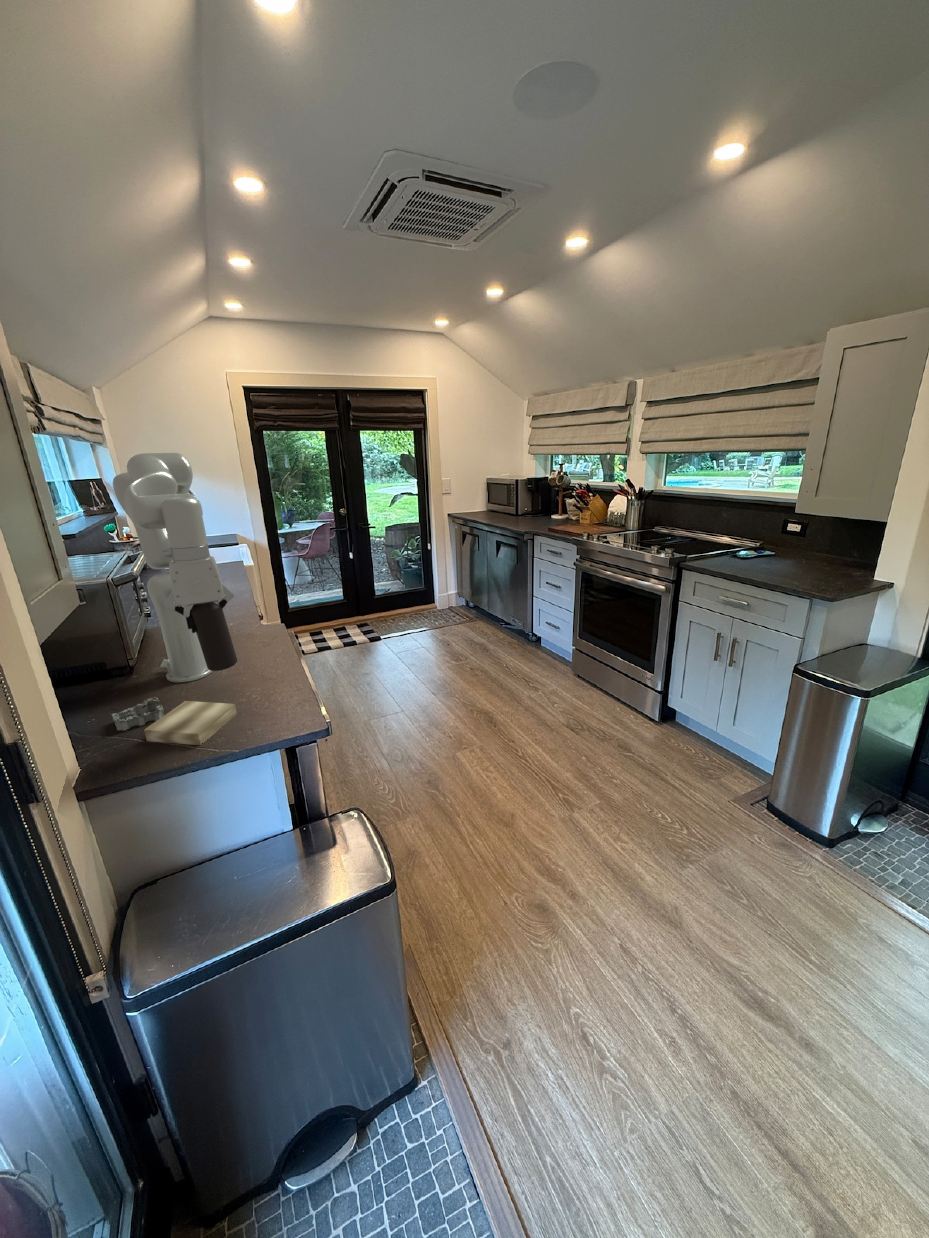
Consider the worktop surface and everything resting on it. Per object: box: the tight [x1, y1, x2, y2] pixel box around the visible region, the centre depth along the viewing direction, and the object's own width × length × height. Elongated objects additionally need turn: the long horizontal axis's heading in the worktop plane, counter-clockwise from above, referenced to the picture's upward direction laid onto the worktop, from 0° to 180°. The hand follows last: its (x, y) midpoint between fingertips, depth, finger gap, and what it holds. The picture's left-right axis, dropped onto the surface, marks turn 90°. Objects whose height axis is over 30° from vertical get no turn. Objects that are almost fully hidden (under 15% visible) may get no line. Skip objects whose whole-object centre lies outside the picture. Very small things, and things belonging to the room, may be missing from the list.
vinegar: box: [190, 602, 238, 672], centre depth 116 cm, size 7×7×20 cm
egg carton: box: [111, 696, 165, 732], centre depth 123 cm, size 11×8×4 cm
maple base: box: [143, 700, 238, 746], centre depth 119 cm, size 14×14×3 cm
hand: (206, 628), depth 116 cm, fingers closed on vinegar, 4 cm apart
